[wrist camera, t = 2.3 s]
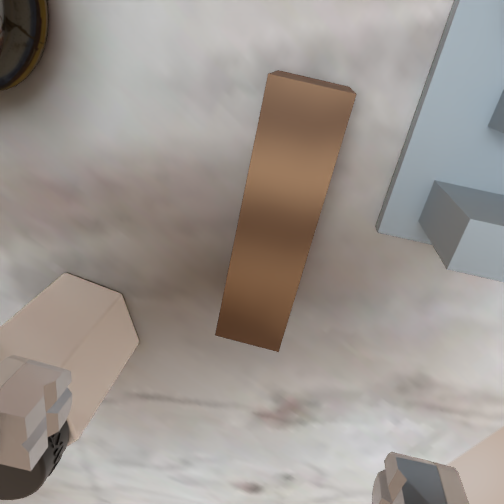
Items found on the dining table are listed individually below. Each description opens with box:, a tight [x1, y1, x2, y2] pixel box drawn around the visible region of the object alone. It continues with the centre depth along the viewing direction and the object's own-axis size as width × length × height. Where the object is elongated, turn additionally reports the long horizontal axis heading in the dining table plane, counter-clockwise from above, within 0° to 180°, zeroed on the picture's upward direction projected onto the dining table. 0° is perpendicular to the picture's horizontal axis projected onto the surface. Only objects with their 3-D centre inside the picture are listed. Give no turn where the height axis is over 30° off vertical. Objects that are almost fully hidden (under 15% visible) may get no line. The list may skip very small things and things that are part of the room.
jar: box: [0, 273, 139, 500], centre depth 27 cm, size 9×8×12 cm
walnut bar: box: [215, 70, 356, 352], centre depth 24 cm, size 15×4×5 cm, turn 168°
